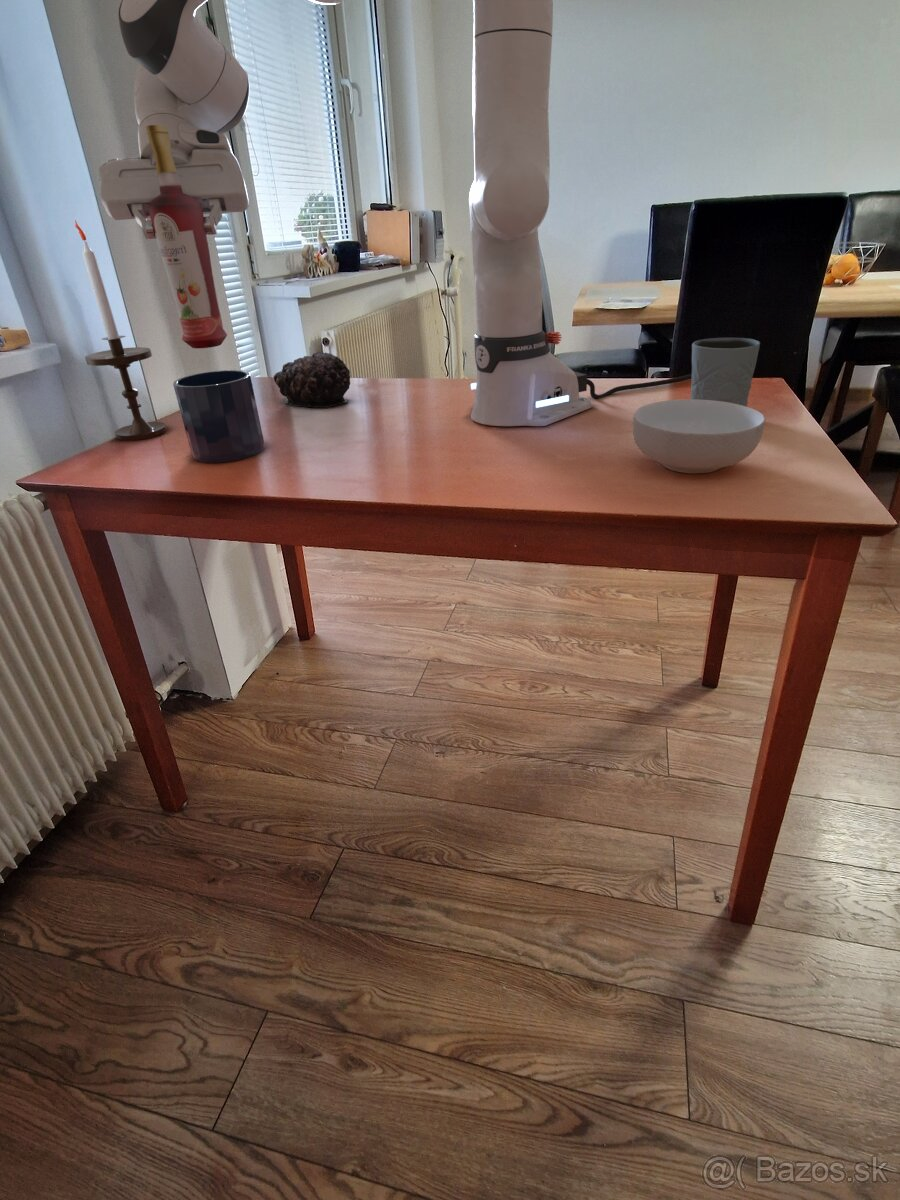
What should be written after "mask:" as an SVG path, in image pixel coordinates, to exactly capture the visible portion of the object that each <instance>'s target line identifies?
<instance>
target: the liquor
mask: <svg viewBox="0 0 900 1200" xmlns="http://www.w3.org/2000/svg"><path fill="white" fill-rule="evenodd" d="M146 129H147V134H148V138H149V142H150V144H151V147H152V149H153V152H154V155H155V161H156V168H157V175H158V181H159V188H160V195H159V196H157V197H156V198H154V199H153V200H152V201H151V202H150V204H149V205H148V207H147V208H148V211H149V215H150V218H149V219H150V220H151V222H152V225H153V229H154V232H155V236H156V243H157V246H158V250H159V253H160V256H161V259H162V262H163V265H164V269H165V273H166V275H167V278H168V282H169V286H170V289H171V292H172V296H173V299H174V303H175V308H176V311H177V314H178V318H179V321H180V325H181V330H182V337H181V340H182V341H183V343H185V344H187V345H188V346H189V347H191V348H192V349H210V348H215V347H219V346H221V345H222V344H223V343H224V341H225V340H226V338H227V337H228V335H229V334H228V332H227V331H226V330H225V329H224V324H223V319H222V315H221V309H220V304H219V299H218V294H217V286H216V281H215V276H214V271H213V270H214V269H213V263H212V258H211V257H212V256H211V251H210V250H211V249H210V245H209V237H208V235H207V234H206V231H205V228H204V217H205V216H204V214H203V210H202V204H201V203H200V202H199V201H197V200H196V199H195V198H193V197H191V196H189V195H187V194H184V193H183V191H182V188H181V184H180V181H179V178H178V174H177V171H176V168H175V164H174V161H173V158H172V155H171V146H170V138H169V134H168V130H167V126H166V125H150V126H146Z"/></svg>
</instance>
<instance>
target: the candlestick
mask: <svg viewBox="0 0 900 1200" xmlns="http://www.w3.org/2000/svg"><path fill="white" fill-rule="evenodd" d="M74 223H75V225H74V226H75V228H76V229H77V231H78V234H79V235H80V238H81V240H82V241H83V242H82V243H83V251H82V252H81V255H82V258H83V261H84V264H85V268H86V270H87V274H88V277H89V278H88V279H89V281H90V284H91V287H92V291H93V294H94V297H95V300H96V303H97V308H98V311H99V313H100V317H101V320H102V323H103V327H104V331H105V332H106V337H102V338H101V340H102V341H107V342H108V346H109V349H106V350H102V351H98V352H94V353H90V354H88V355H86V356H84V359H85V363H86V364H87V365H88V366H95V367H96V366H97V367H100V366H101V367H102V366H103V367H105V366H109V367H113V369H115V370H116V369H117V370H118V372H119V374H120V377H121V380H122V381H121V382H122V384H123V387H124V389H123V390H122V391H121V395H122V396H123V397H124V399H126V400H127V403H128V405H127V406H126V409H128V410H130V411H131V414H132V417H133V419H132V421H131V424H129V425H125V426H123V427H120V428H118V429H117V430H115V431H114V435H115V438H116V439H117V440H118V441H128V442H129V441H130V442H131V441H140V440H141V441H142V440H146V439H151V438H155V437H158V436H161V435H163V434H165V433H166V432H167V431H168V427H167V423H166V422H163V421H146V420H145V419H144V418H143V417H142V415H141V414H142V413H141V411H140V408H142V404H141V403H138V399H137V398H138V397H139V391H138V389H137V388H134V387H133V384H132V381H131V378H130V374H129V371H128V368H130V367H131V364H134V362H136V363H137V362H140V361H143V360H147V359H150V358H152V357H153V353H152V350H151V348H149V347H146V346H145V347H143V346H142V347H141V346H137V347H135V346H134V347H124V346H123V343H122V339H124V338H126V337H127V336H126V335H119V332H118V331H119V330H118V328H117V324H116V321H115V317H114V314H113V311H112V308H111V307H112V306H111V304H110V300H109V298H108V294H107V291H106V290H107V289H106V288H105V283H104V280H103V277H102V273H101V270H100V267H99V266H100V265H99V264H98V263H99V262H98V260H97V257H96V254H95V251H93V250H92V249H91V248H90V246H89V244H88V241H87V235H86V233H85V231H84V229H82V227H81V226H80V225H79V224H78V222H77V220H76V219H75V220H74Z"/></svg>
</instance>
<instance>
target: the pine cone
mask: <svg viewBox="0 0 900 1200" xmlns="http://www.w3.org/2000/svg"><path fill="white" fill-rule="evenodd" d="M350 373H351V371H350V369H349V368H348V367H347V365H346V363H345V362H344V361H343V360H342V359H341V358H340V357H339V356H337V355H335V354H333V353H330V352H321V351H320V352H319V351H317V352H313V353H312V354H311V355H304V356H303V357H299V358H297V359H294V360H293V361H290V362H289V361H288V362H286V363H285V364H283V365H282V369H281V370H280V371H278V372H275V374H274V375H273V381H274V383H275V384H276V386H277V387H278V388H279V393H280V395H281V396H283V397H286V399H285V400H284V403H285V404H287V405H289V406H293V407H307V408H308V407H309V408H328V407H334V406H338V405H342V404H344V403H347V402H349V399H347V398H344V396H345V394H346V393H347V392H348V391H349V389H350V386H351V374H350Z"/></svg>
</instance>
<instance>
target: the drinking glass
mask: <svg viewBox="0 0 900 1200" xmlns="http://www.w3.org/2000/svg"><path fill="white" fill-rule="evenodd" d="M760 345H761V342H760V341H759V340H756V339H754V338H747V337H746V338H745V337H713V338H712V337H711V338H704V339H698V340H695V341H693V342H692V344H691V374H692V379H691V383H690V384H691V385H690V387H691V390H690V399H698V400H713V401H721V402H728V403H733V404H738V405H742V406H746V407H748V399H749V396H750V390H751V389H752V380H753V377H754V373H755V369H756V365H757V361H758V355H759V351H760V348H761V347H760Z"/></svg>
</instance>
